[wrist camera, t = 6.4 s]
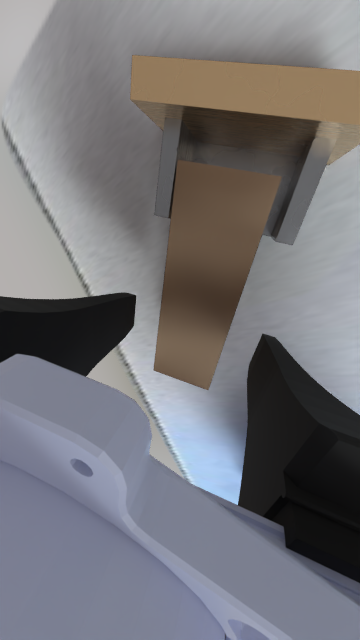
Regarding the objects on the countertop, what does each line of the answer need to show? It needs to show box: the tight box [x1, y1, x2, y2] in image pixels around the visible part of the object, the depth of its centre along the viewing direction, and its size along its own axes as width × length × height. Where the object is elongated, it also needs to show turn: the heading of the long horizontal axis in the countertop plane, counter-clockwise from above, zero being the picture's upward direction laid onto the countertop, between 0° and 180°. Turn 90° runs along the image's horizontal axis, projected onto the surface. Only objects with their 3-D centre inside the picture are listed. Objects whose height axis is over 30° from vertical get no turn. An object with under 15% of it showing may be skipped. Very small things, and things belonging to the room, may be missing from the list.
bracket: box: [130, 55, 360, 245], centre depth 11 cm, size 5×9×6 cm, turn 80°
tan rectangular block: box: [154, 160, 282, 390], centre depth 13 cm, size 12×4×5 cm, turn 170°
